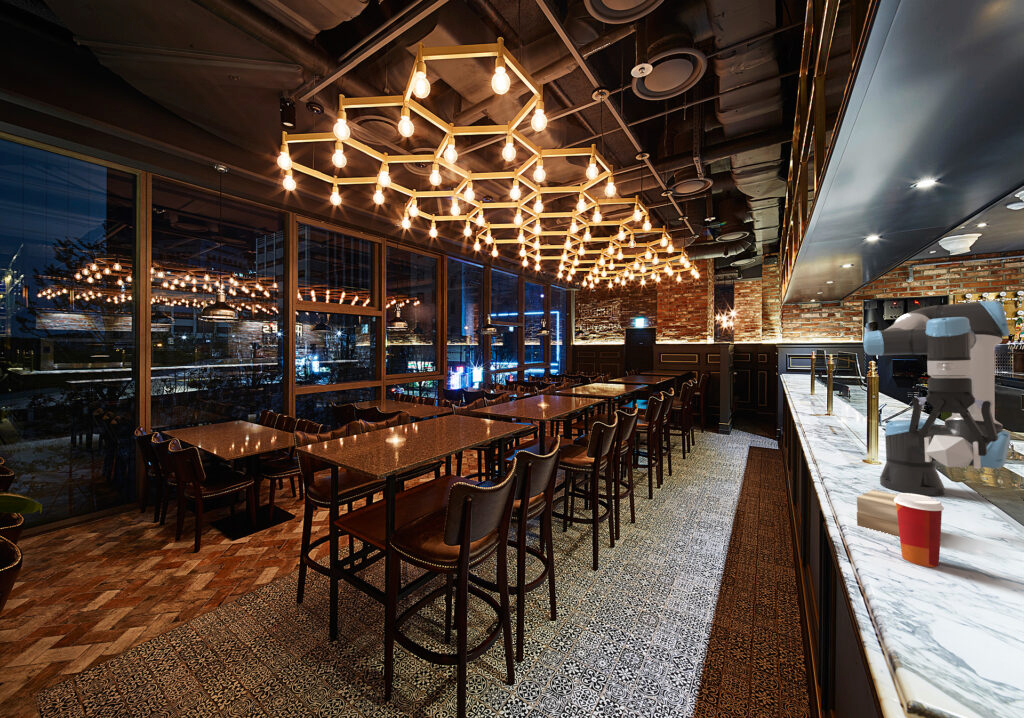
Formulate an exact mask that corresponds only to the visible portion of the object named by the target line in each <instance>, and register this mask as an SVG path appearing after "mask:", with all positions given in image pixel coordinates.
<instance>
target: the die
mask: <svg viewBox="0 0 1024 718" xmlns="http://www.w3.org/2000/svg"><path fill="white" fill-rule="evenodd" d="M926 453H927V454H928V455H930V456H931V457H932V458H934V459H935V460H936V461H935V462H937V463H939V464H941V465H943V466H945V467H947V468H961V467H962V468H965V467H967V468H968V467H969V466H970V465H969V464H970V463H971V461H972V460H973V458H974V455H973V445H972V444H971V443H969V442H968V441H967V440H965V439H964V438H962V437H959V436H956V435H934V437H933V439H932V441H931V443H930V445H929V447H928V449H927V450H926Z"/></svg>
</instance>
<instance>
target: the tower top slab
mask: <svg viewBox="0 0 1024 718" xmlns="http://www.w3.org/2000/svg"><path fill="white" fill-rule="evenodd" d="M896 496H897V494H896V493H890V492H886V491H880V490H876V489H872V490H870V491H867V492H865V493H863V494H861V495H859V496H857V497H856V506H857V507H856V508H857V512H859V513H863V514H867V515H871V516H875V517H879V518H882V519H886V520H890V521H894V522H898V517H897V508H896V503H895V502H894V499H895V498H896ZM857 512H856V513H857Z"/></svg>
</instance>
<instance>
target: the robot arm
mask: <svg viewBox="0 0 1024 718" xmlns="http://www.w3.org/2000/svg"><path fill="white" fill-rule="evenodd" d="M1006 316H1007V315H1006V313H1005V310H1004V304H1003V303H1002V302H1000V301H998V300H987V301H985V300H984V301H980V300H979V301H973V302H964V303H962V302H961V303H953V304H951V303H950V304H943V305H942V304H941V305H932V306H931V305H930V306H925V307H921V308H919V309H916V310H912V311H910V312H907V313H903V315H901V316H899V317H897V319H895V321H894V322H893V324H891V326H889V327H888V328H886V329H884V330H878V329H877V330H874V331H866V333H864V336H863V342H862V343H863V350H864V352H865V353H866V354H867V355H868V356H880V357H881V356H894V355H895V356H897V355H898V356H899V355H927V359H926V360H927V361H926V364H927V375H928V376H930V377H928V378H927V391H928V392H927V395H926V396H925V397H924V396H922V397H918V396H915V397H912V398H911V402H912V406H913V408H912V413H911V418H910V419H899V420H892V421H888V422H887V423H886V424H885V432H884V437H885V438H884V440H885V458H886V459H885V460H886V463H885V464H884V467H883V470H882V472H881V474H880V477H879V484H880V485H881V486H883V488H886V489H890V490H893V491H897V492H900V493H910V494H918V495H923V496H929V497H930V496H943V495H945V486H944V483H943V481H942V480H941V478H940V475H939V473H938V471H937V468H936V467H937V466H936V462H937V461H936V460H935V459H934V458H932V457H931V456H930V455H928V454H927V453H926V450H927V449H928V447H929V445H930V443H931V441H932V439H933V437H934V435H956V436H959V437H962V438H964V439H965V440H967V441H968V442H969V443H971V444H972V445H973V455H974V458H973V460H972V461H971V463H970V464H969V465H968V466H969V467H970V466H972V467H973V470H980V469H981V468H987V469H993V470H994V469H1001V468H1002V467H1004V466H1005V464H1006V462H1007V458H1008V455H1009V452H1010V451H1009V450H1010V444H1011V443H1010V442H1011V438H1012V437H1011V435H1012V434H1011V432H1010V431H1008V430H1006V429H1005V430H1003V424H1002V423H1000V422H999V421H997V420H996V418H995V414H996V413H995V411H996V409H995V407H996V404H995V401H996V400H995V398H996V397H995V395H996V394H995V390H996V389H995V386H996V385H995V378H996V377H995V371H996V370H995V360H996V359H995V355H996V354H995V347H996V346H998V345H999V344H1001V343H1002V342H1003V337H1008V336H1010V335H1011V334H1010V329H1009V324H1008V320H1007V317H1006ZM926 402H928V404H930V406H931V407H933V408H932V410H931V412H930V414H929V415H928V417H927V418H926V419H921V414H922V411H923V410H922V409H923V406H924V405H925V403H926ZM941 413H950V414H951V416H950V417H948V418H946V419H945V420H944V425H936V423H935V422H936V420H937V418H938V417H939V415H940V414H941Z"/></svg>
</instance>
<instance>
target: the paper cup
mask: <svg viewBox="0 0 1024 718" xmlns="http://www.w3.org/2000/svg"><path fill="white" fill-rule="evenodd" d="M896 495H897V496H896V498H895V499H894V502H895V503H896V508H897V517H898V526H899V535H900V537H899V543H900V544H899V545H900V550H901V558H902V559H903V560H905V561H906V562H908V563H911V564H914V565H916V566H919V567H925V568H934V569H935V568H938V567H939V565H940V564H939V563H940V552H941V550H940V549H941V535H942V512H943V511H944V510H945V507H944V506H943V505H942V502H941V501H939V500H938V499H935V498H933V497H930V496H929V495H918V494H911V493H905V492H899V493H897V494H896Z"/></svg>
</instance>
